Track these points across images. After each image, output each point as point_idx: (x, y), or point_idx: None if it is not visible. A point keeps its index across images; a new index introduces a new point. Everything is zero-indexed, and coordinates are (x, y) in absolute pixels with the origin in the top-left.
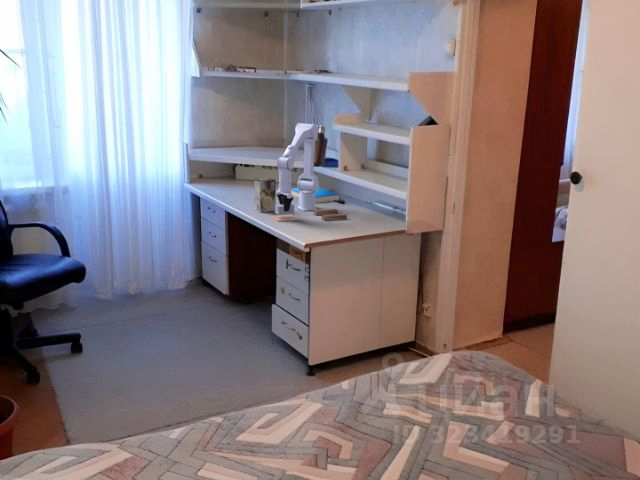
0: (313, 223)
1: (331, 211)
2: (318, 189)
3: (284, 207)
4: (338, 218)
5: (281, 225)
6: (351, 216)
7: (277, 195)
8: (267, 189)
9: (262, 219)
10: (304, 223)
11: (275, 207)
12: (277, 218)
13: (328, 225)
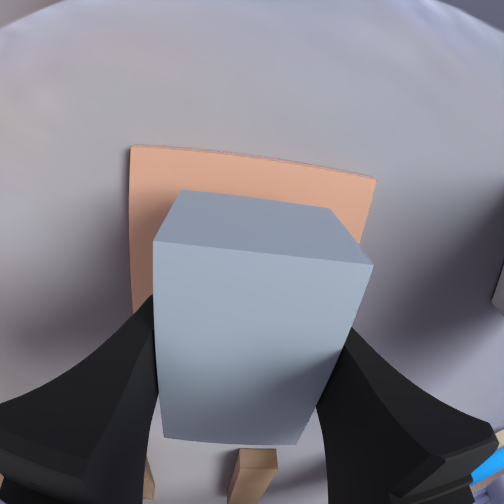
0: (47, 369)
1: (230, 494)
2: (482, 477)
3: (124, 325)
4: None
5: (9, 131)
6: (169, 497)
7: (442, 451)
8: None
9: (313, 28)
10: (45, 329)
11: (335, 238)
12: (226, 180)
13: (15, 395)
